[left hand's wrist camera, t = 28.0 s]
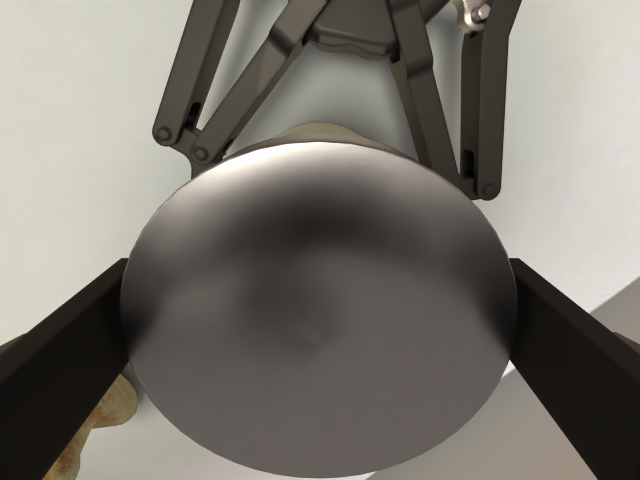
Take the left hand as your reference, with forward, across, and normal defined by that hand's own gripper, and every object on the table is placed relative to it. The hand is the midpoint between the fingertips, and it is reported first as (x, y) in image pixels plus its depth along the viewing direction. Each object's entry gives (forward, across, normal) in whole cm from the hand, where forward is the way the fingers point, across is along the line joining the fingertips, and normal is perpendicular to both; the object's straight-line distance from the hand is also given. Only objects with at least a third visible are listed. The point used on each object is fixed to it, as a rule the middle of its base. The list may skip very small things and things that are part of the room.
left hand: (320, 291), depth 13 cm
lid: (-3, 0, 0) cm, 3 cm away
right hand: (+8, -1, -4) cm, 9 cm away
